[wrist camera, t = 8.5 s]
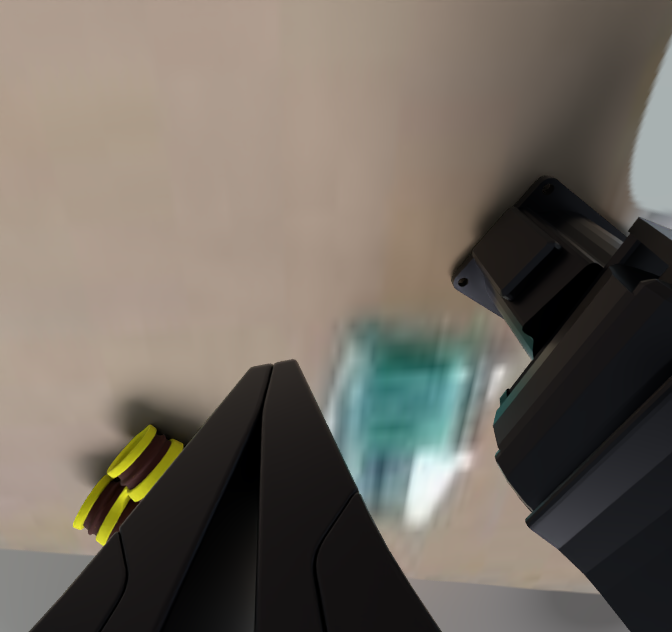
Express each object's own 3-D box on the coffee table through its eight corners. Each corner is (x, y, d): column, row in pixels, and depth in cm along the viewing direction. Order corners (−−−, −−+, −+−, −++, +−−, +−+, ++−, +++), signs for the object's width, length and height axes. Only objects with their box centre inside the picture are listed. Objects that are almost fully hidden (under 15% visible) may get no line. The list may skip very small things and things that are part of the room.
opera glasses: (157, 402, 27) (111, 461, 23) (227, 446, 28) (196, 510, 24) (99, 481, 31) (51, 544, 27) (162, 517, 32) (126, 583, 28)
